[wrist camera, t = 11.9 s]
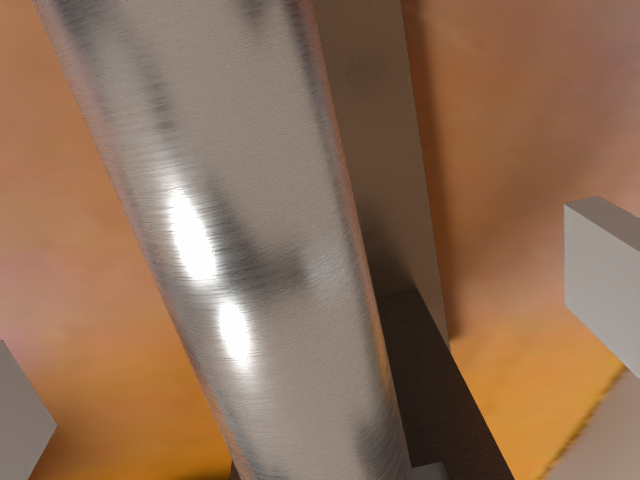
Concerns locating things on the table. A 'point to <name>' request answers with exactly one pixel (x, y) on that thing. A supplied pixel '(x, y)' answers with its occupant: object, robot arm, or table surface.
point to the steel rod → (243, 221)
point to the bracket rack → (401, 238)
